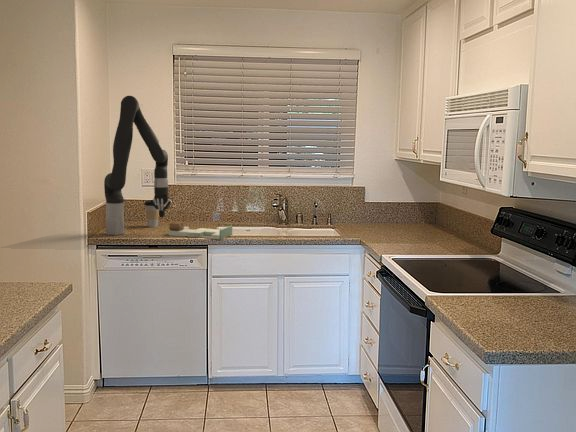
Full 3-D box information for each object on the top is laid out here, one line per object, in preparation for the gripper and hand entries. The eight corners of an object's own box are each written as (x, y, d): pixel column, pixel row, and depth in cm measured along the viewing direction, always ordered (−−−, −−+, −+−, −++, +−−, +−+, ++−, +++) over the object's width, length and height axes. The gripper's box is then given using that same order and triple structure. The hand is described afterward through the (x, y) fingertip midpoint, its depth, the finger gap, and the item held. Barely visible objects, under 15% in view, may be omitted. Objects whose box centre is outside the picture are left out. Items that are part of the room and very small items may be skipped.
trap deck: (221, 239, 315) (221, 230, 315) (168, 235, 324) (168, 226, 323) (232, 234, 331) (232, 225, 330) (181, 230, 339) (181, 222, 338)
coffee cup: (161, 227, 348) (161, 202, 346) (145, 228, 345) (145, 202, 342) (159, 224, 357) (158, 200, 355) (143, 225, 353) (142, 200, 351)
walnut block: (179, 231, 323) (179, 223, 322) (169, 230, 324) (169, 223, 324) (184, 229, 328) (184, 222, 328) (174, 228, 330) (174, 221, 329)
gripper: (147, 186, 324) (147, 217, 327) (169, 187, 321) (169, 218, 323) (153, 184, 331) (154, 215, 334) (175, 185, 328) (175, 216, 331)
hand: (162, 217), depth 329 cm, fingers closed
